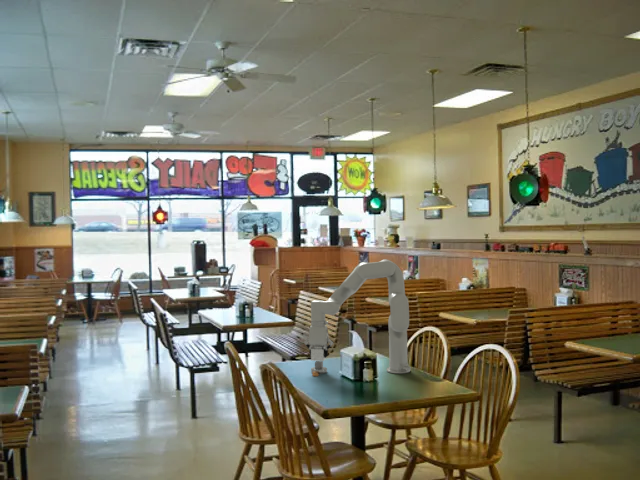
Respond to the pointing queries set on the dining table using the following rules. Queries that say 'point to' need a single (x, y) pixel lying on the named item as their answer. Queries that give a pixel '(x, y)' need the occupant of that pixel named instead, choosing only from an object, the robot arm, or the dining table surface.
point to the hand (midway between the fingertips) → (318, 356)
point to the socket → (317, 353)
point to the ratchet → (318, 369)
